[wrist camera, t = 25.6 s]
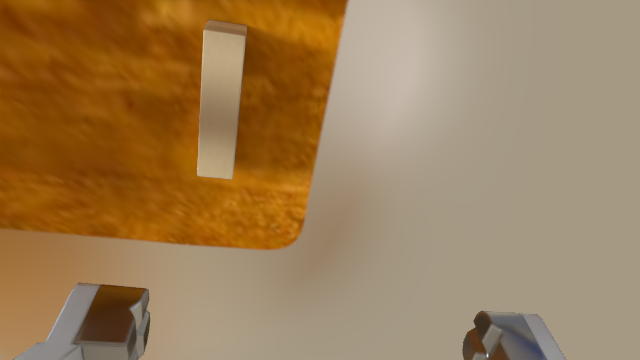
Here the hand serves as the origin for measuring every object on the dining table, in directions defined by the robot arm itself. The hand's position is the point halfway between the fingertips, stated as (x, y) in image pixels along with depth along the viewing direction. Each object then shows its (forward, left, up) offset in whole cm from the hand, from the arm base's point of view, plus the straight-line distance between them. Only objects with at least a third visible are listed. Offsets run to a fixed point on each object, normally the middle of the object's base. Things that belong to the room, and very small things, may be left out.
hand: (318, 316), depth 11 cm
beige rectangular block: (+6, +1, -22) cm, 23 cm away
